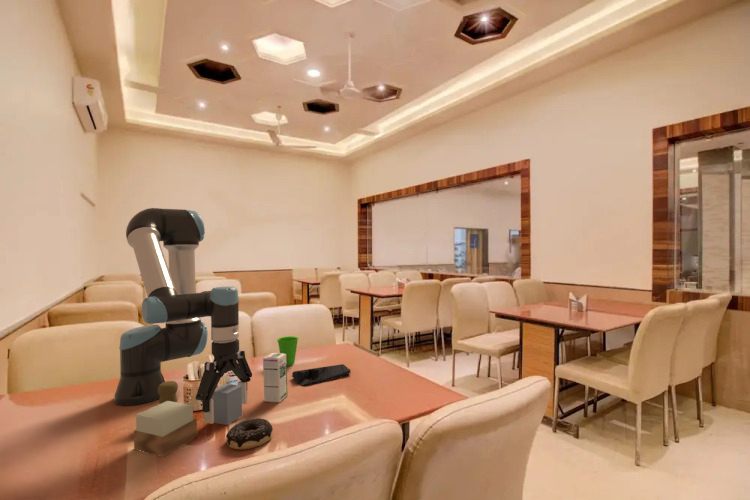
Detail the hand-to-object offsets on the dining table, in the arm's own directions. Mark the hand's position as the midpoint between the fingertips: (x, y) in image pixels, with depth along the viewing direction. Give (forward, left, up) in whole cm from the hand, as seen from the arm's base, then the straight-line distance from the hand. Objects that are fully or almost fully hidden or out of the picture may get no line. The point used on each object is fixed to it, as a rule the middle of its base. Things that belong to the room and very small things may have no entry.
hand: (226, 412), depth 109 cm
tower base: (-5, -16, -2) cm, 17 cm away
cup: (-12, +50, -2) cm, 51 cm away
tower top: (-5, -16, +3) cm, 17 cm away
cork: (-16, -6, -2) cm, 17 cm away
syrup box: (+5, +17, -2) cm, 18 cm away
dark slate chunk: (+9, +42, -3) cm, 43 cm away
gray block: (0, 0, -2) cm, 2 cm away
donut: (+14, -8, -2) cm, 17 cm away
